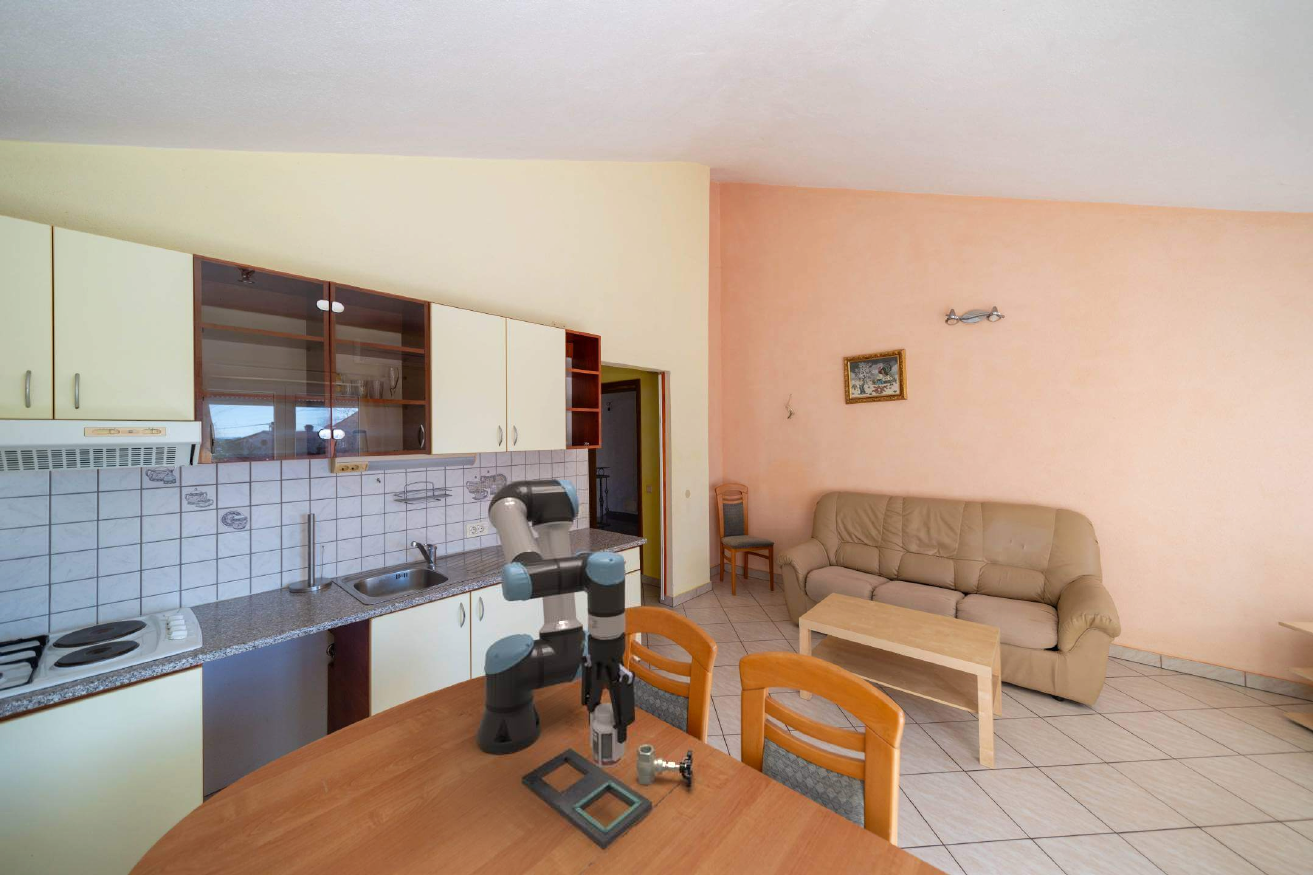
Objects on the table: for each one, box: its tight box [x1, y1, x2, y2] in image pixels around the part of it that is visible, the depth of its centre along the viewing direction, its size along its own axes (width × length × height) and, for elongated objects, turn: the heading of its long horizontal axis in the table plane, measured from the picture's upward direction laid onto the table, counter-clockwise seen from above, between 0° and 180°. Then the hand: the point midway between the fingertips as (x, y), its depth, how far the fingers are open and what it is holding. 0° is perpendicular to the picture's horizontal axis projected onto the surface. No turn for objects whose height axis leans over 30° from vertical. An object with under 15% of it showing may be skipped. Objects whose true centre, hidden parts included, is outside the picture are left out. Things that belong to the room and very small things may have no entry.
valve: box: [636, 744, 694, 788], centre depth 103 cm, size 7×7×12 cm
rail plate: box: [521, 747, 653, 850], centre depth 99 cm, size 26×13×1 cm, turn 49°
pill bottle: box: [592, 702, 623, 769], centre depth 95 cm, size 6×6×10 cm
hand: (607, 749), depth 95 cm, fingers closed on pill bottle, 6 cm apart
